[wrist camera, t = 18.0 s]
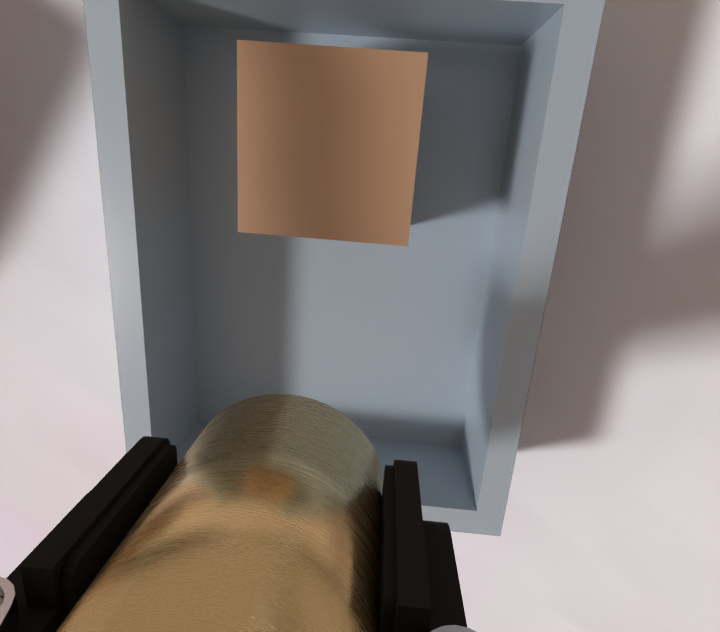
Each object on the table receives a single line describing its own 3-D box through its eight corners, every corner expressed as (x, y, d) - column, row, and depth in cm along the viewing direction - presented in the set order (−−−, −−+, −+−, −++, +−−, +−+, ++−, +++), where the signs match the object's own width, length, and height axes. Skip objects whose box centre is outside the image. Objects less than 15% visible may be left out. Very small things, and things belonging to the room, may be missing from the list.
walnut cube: (417, 86, 17) (428, 52, 12) (403, 226, 18) (408, 246, 13) (280, 77, 17) (236, 39, 12) (277, 216, 18) (238, 232, 14)
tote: (549, 21, 17) (613, -40, 12) (476, 457, 22) (500, 536, 17) (164, -1, 17) (77, -67, 12) (186, 428, 22) (130, 497, 18)
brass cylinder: (392, 403, 11) (396, 743, 4) (375, 569, 13) (360, 1013, 6) (187, 384, 11) (-104, 686, 5) (193, 550, 13) (-21, 962, 6)
